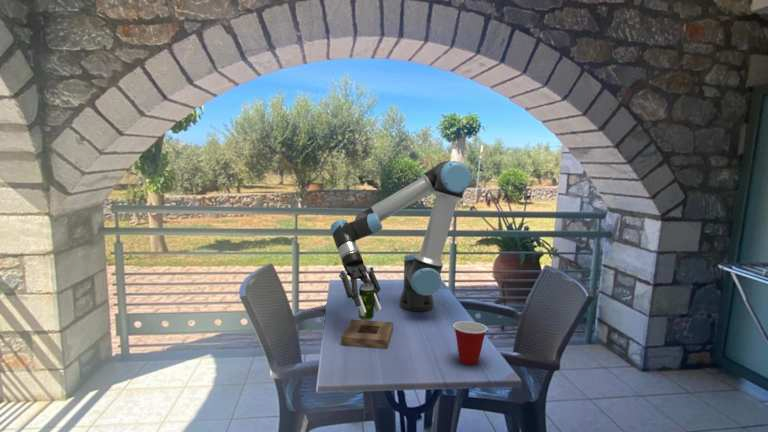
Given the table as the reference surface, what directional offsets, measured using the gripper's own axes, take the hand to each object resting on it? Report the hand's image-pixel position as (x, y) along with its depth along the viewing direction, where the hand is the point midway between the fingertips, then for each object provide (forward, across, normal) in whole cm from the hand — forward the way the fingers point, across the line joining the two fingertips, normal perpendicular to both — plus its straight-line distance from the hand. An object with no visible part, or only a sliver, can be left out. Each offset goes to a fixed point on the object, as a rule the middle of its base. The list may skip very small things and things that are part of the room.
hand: (371, 312), depth 146 cm
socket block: (+5, -1, -10) cm, 11 cm away
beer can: (0, 0, -5) cm, 5 cm away
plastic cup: (+28, -20, +13) cm, 36 cm away
